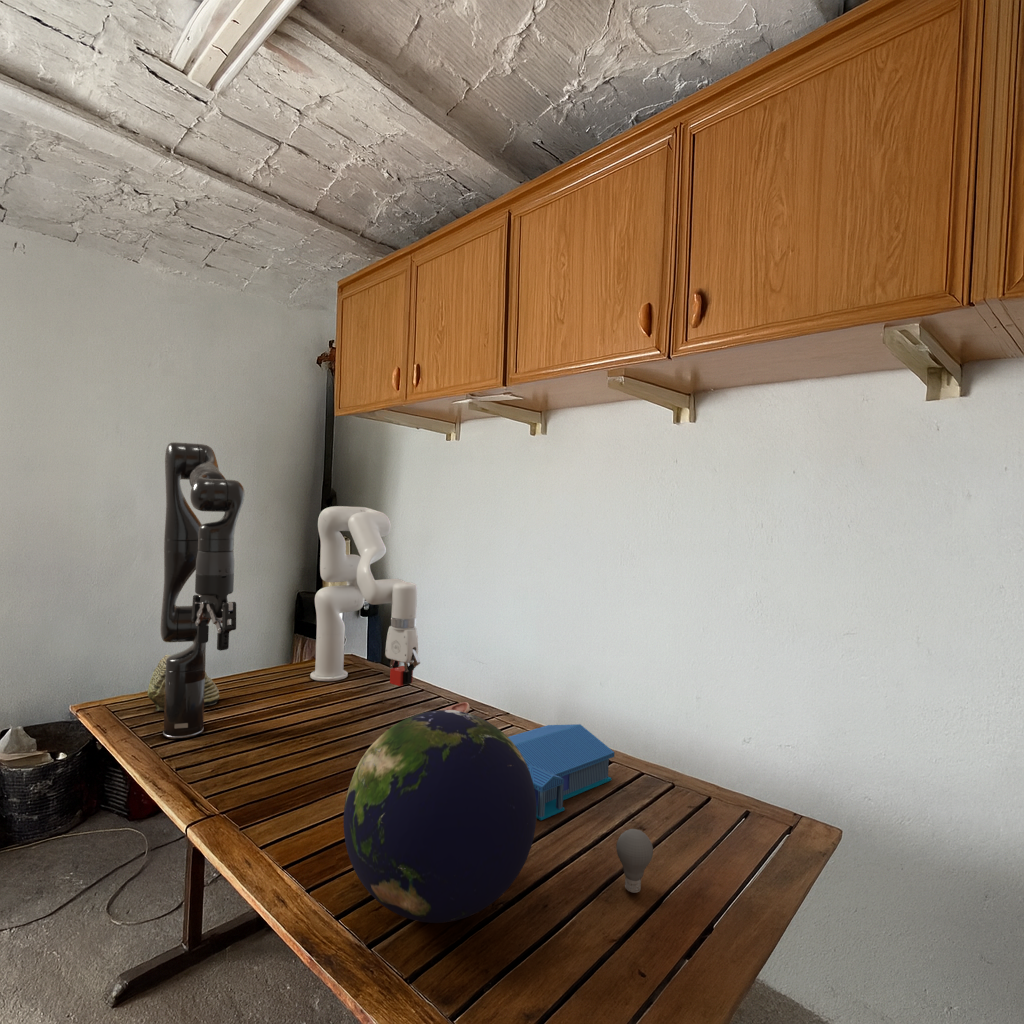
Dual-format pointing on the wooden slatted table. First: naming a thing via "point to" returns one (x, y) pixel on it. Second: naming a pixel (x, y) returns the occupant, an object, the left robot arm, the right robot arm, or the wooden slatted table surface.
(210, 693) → the fossil
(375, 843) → the globe
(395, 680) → the block
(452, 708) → the anatomical model
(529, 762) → the model building
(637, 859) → the light bulb
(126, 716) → the wooden slatted table surface
